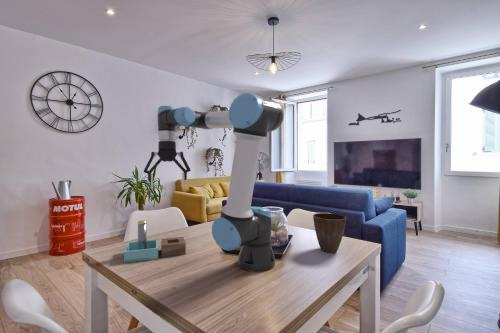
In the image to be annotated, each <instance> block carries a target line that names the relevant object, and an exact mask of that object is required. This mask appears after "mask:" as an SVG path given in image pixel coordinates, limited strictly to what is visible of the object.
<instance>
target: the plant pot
mask: <svg viewBox="0 0 500 333" xmlns="http://www.w3.org/2000/svg"><path fill="white" fill-rule="evenodd" d="M312 217H313V218H312V220H313V225H314V231H315V235H316V239H317V242H318V245H319V246H318V247H319V248H320V250H321V251H322V252H325V253H330V252H333V253H336V251H337V252H338V250H339V247H340V245H341V242H342V240H343V236H344V233H345V229H346V222H347V216H346V215H343V214H339V213H333V212H318V213H314V214H313V215H312Z"/></svg>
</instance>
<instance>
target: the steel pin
mask: <svg viewBox="0 0 500 333" xmlns="http://www.w3.org/2000/svg"><path fill="white" fill-rule="evenodd" d="M147 228H148V227H147V220H139V221H137V241H138V250H142V249H147V237H148V236H147V233H148V232H147Z"/></svg>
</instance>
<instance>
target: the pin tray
mask: <svg viewBox="0 0 500 333" xmlns="http://www.w3.org/2000/svg"><path fill="white" fill-rule="evenodd" d="M123 259H124V260H123V263H124V264H126V263H135V262H144V261H152V260H159V238H158V239H149V240H147V249H142V250H138V240H137V241H128V242H127V243H126V245H125V248H124V252H123Z"/></svg>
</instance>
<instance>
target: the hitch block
mask: <svg viewBox="0 0 500 333" xmlns="http://www.w3.org/2000/svg"><path fill="white" fill-rule="evenodd" d="M160 243H161V244H160V247H161V248H160V249H161V258H166V257H175V256H182V255H183V256H184V255H186V248H187V246H186V244H187V243H186V240H185V238H184V236H179V237H178V236H177V237H169V238H167V237H166V238H161V242H160Z"/></svg>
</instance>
